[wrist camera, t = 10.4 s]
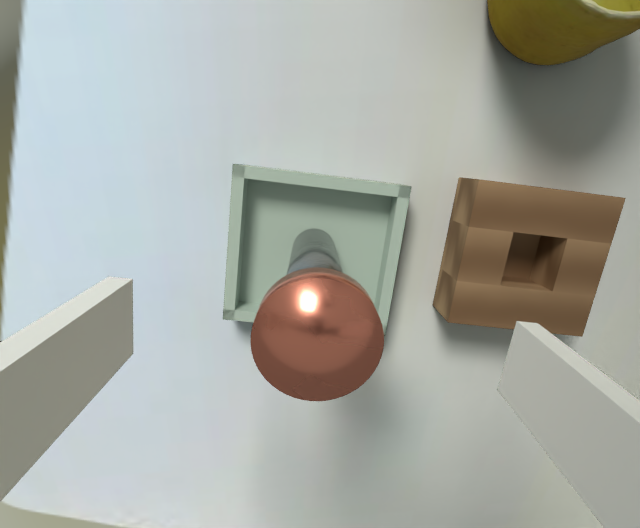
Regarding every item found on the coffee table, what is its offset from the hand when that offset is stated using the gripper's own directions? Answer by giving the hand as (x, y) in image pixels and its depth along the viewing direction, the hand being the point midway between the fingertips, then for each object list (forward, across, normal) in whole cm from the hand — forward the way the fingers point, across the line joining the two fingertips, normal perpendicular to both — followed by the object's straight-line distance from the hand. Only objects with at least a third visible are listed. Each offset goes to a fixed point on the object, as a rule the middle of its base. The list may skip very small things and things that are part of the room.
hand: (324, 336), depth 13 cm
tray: (+17, 0, -1) cm, 17 cm away
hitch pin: (+16, 0, -1) cm, 16 cm away
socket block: (+17, +15, 0) cm, 22 cm away
